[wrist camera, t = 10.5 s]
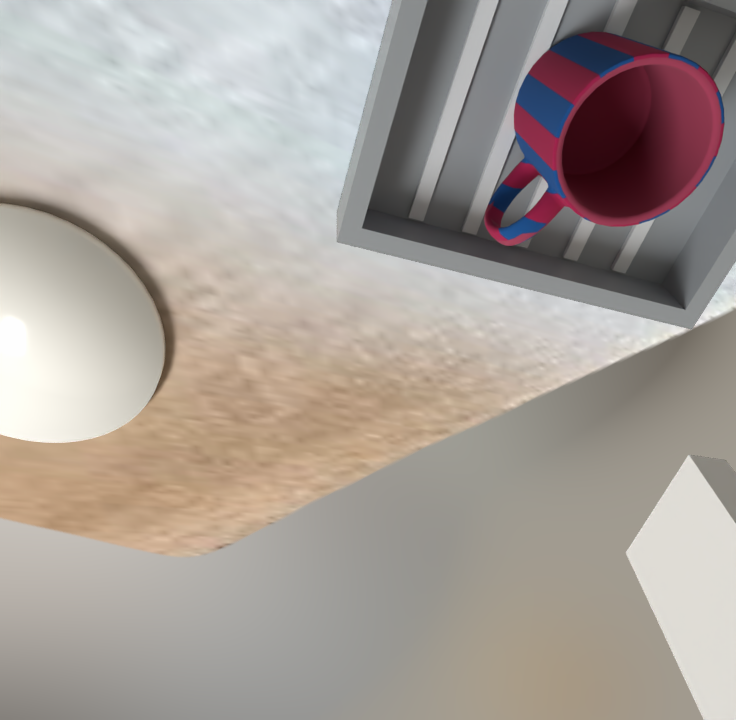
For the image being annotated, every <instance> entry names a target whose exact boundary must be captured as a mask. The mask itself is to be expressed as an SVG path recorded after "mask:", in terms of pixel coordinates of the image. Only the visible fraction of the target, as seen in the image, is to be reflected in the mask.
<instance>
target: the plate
mask: <svg viewBox="0 0 736 720" xmlns="http://www.w3.org/2000/svg"><path fill="white" fill-rule="evenodd" d="M165 350H166V344H165V335H164V329H163V325H162V321H161V318H160V314H159V312H158V310H157V307H156V305H155V303H154V300H153V299H152V297H151V295H150V294H149V292H148V290H147V288H146V287H145V285H144V284H143V282H142V281H141V280H140V278H139V277H138V276H137V275H136V273H135V272H134V271H133V269H132V268H131V267H130V266H129V265H128V264H127V263H126V262H125V261H124V260H123V259H122V258H121V257H120V256H119V255H118V254H117V253H115V252H114V251H113V250H112V249H111V248H109V247H108V246H107V245H106V244H105V243H103V242H102V241H100V240H99V239H97V238H96V237H94V236H93V235H92V234H90V233H89V232H87V231H85V230H83V229H82V228H80V227H78V226H76V225H74V224H72V223H70V222H69V221H66V220H64V219H61V218H59V217H56V216H54V215H52V214H49V213H46V212H43V211H39V210H36V209H32V208H29V207H24V206H19V205H13V204H7V203H0V434H2V435H5V436H8V437H13V438H17V439H22V440H28V441H36V442H48V443H63V442H76V441H82V440H87V439H92V438H95V437H98V436H102V435H105V434H107V433H109V432H112V431H114V430H116V429H118V428H120V427H121V426H123V425H124V424H126V423H128V422H129V421H130V420H132V419H133V418H134V417H135V416H136V415H138V414H139V413H140V411H141V410H142V409H143V408H144V407H145V406H146V405H147V403H148V402H149V400H150V398H151V397H152V395H153V394H154V392H155V389H156V387H157V384H158V382H159V379H160V377H161V374H162V372H163V367H164V362H165Z"/></svg>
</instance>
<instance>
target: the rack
mask: <svg viewBox="0 0 736 720" xmlns="http://www.w3.org/2000/svg"><path fill="white" fill-rule="evenodd" d="M587 32H607V33H612V34H616V35H619V36H622V37H625V38H629V39H632V40H635V41H638V42H641V43H644V44H647V45H650V46H653V47H656V48H659V49H662V50H665V51H668V52H671V53H674V54H678V55H681V56H683V57H685V58H688V59H690V60H692V61H694V62H696V63H697V64H698V65H700V66H701V67H702V68H703V69H705V70H706V71H707V72H708V74H709V75H710V76H711V77H712V79H713V80H714V81H715V83H716V85H717V87H718V89H719V92H720V94H721V97H722V102H723V106H724V122H725V125H724V131H723V138H722V142H721V145H720V148H719V151H718V154H717V156H716V158H715V160H714V163H713V165H712V167H711V169H710V170H709V172H708V173H707V175H706V176H705V178H704V179H703V181H702V182H701V183H700V184H699V186H698V187H697V188H696V189H695V190H694V191H693V192H692V193H691V194H690V195H689V196H688V197H687V198H686V199H685V200H684V201H682V202H681V203H680V204H679V205H678V206H676V207H675V208H673V209H672V210H670V211H669V212H667V213H665V214H663V215H661V216H659V217H657V218H655V219H653V220H650V221H647V222H644V223H641V224H638V225H632V226H625V227H610V226H604V225H599V224H596V223H593V222H590V221H588V220H586V219H584V218H582V217H581V216H579V215H578V214H576V213H575V212H574V211H573V210H572V209H571V208H570V207H565V206H564V207H563V208H562V210H561V211H560V212H559V213H558V214H557V215H556V216H555V217H554V218H553V219H552V221H551V222H550V223H549V224H548V225H547V226H545V227H544V228H543V229H542V230H541V231H540V232H539V233H537V234H536V235H534V236H533V237H532V238H530V239H528V240H526V241H524V242H523V243H520V244H516V245H512V246H505V245H503V244H501V243H499V242H498V241H497V240H495V239H494V238H493V237H492V236H491V235H490V233H489V232H488V230H487V228H486V226H485V222H484V216H485V211H486V208H487V206H488V204H489V201H490V199H491V198H492V196H493V194H494V193H495V191H496V190H497V189H498V187H499V186H500V184H501V183H502V182H503V181H504V180H505V178H506V177H507V176H508V175H509V174H510V173H511V171H512V170H513V169H514V168H515V167H516V166H517V164H519V163H520V162H521V161H522V160H523V159H524V154H523V152H522V151H521V149H520V147H519V144H518V142H517V139H516V134H515V130H514V109H515V102H516V99H517V96H518V92H519V89H520V87H521V85H522V83H523V81H524V79H525V77H526V75H527V74H528V72H529V71H530V69H531V68H532V66H533V65H534V64H535V63H536V62H537V61H538V59H539V58H540V57H541V56H542V55H543V54H544V53H546V52H547V51H548V50H549V49H551V48H552V47H553V46H554V45H556V44H558V43H560V42H561V41H563V40H565V39H567V38H570V37H572V36H575V35H578V34H582V33H587ZM547 188H548V184H547V182H546V181H545V180H544V179H543V177H541V176H540V175H538V176H537V177H536V178H535V179H533V180H532V181H531V182H530V183H529V184H528V185H527V186H526V187H525V188H524V189H523V190H522V191H521V192H520V193H519V194H518V195H517V196H516V197H515V198H514V200H513V201H512V202H511V204H510V205H509V206H508V208H507V210H506V211H505V213H504V215H503V217H502V220H501V227H508V226H510V225H511V224H513V223H515V222H517V221H518V220H519V219H521V218H522V217H523V216H525V215H526V214H527V213H528V212H529V211H530V210H531V209H532V208H533V207H534V206H535V205H536V203H537V202H538V201H539V200H540V199H541V197H542V196H543V194H544V193H545V191H546V190H547ZM337 242H338V243H342V244H346V245H350V246H354V247H359V248H363V249H367V250H371V251H375V252H379V253H383V254H387V255H391V256H395V257H399V258H403V259H407V260H411V261H415V262H420V263H424V264H428V265H432V266H436V267H440V268H444V269H448V270H452V271H456V272H460V273H464V274H468V275H472V276H476V277H481V278H485V279H489V280H493V281H497V282H501V283H505V284H509V285H513V286H517V287H521V288H525V289H529V290H533V291H537V292H542V293H546V294H550V295H554V296H558V297H562V298H566V299H570V300H574V301H578V302H582V303H586V304H590V305H594V306H598V307H603V308H607V309H611V310H615V311H619V312H623V313H627V314H631V315H635V316H639V317H643V318H647V319H651V320H655V321H659V322H664V323H668V324H672V325H676V326H680V327H684V328H688V329H692V328H693V327H694V325H695V324H696V322H697V321H698V319H699V317H700V316H701V314H702V313H703V311H704V310H705V308H706V307H707V305H708V303H709V302H710V300H711V299H712V297H713V296H714V294H715V293H716V291H717V289H718V288H719V286H720V285H721V283H722V282H723V280H724V279H725V277H726V275H727V274H728V272H729V271H730V269H731V268H732V266H733V265H734V263H735V261H736V0H392V4H391V8H390V11H389V15H388V19H387V23H386V27H385V30H384V34H383V38H382V42H381V46H380V50H379V53H378V57H377V61H376V65H375V69H374V72H373V76H372V80H371V84H370V88H369V91H368V95H367V99H366V103H365V107H364V111H363V114H362V118H361V122H360V126H359V130H358V133H357V137H356V141H355V145H354V149H353V153H352V156H351V160H350V164H349V168H348V172H347V175H346V179H345V183H344V187H343V191H342V194H341V198H340V202H339V206H338V210H337Z"/></svg>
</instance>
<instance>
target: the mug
mask: <svg viewBox="0 0 736 720" xmlns="http://www.w3.org/2000/svg"><path fill="white" fill-rule="evenodd" d="M724 125H725V122H724V106H723V102H722V97H721V94H720V92H719V89H718V87H717V85H716V83H715V81H714V80H713V79H712V77H711V76H710V75H709V74H708V72H707V71H706V70H705V69H703V68H702V67H701V66H700V65H698V64H697V63H696V62H694V61H692V60H690V59H688V58H685V57H683V56H681V55H678V54H674V53H671V52H668V51H665V50H662V49H659V48H656V47H653V46H650V45H647V44H644V43H641V42H638V41H635V40H632V39H629V38H625V37H622V36H619V35H616V34H612V33H607V32H587V33H582V34H578V35H575V36H572V37H570V38H567V39H565V40H563V41H561V42H560V43H558V44H556V45H554V46H553V47H552V48H551V49H549V50H548V51H547V52H546V53H544V54H543V55H542V56H541V57H540V58H539V59H538V61H537V62H536V63H535V64H534V65H533V66H532V68H531V69H530V71H529V72H528V74H527V75H526V77H525V79H524V81H523V83H522V85H521V87H520V89H519V92H518V96H517V99H516V102H515V109H514V130H515V134H516V139H517V142H518V144H519V147H520V149H521V151H522V152H523V154H524V159H523V160H522V161H521V162H520V163H519V164H517V166H516V167H515V168H514V169H513V170H512V171H511V173H510V174H509V175H508V176H507V177H506V178H505V180H504V181H503V182H502V183H501V184H500V186H499V187H498V189H497V190H496V191H495V193H494V194H493V196H492V198H491V199H490V201H489V204H488V206H487V208H486V211H485V216H484V222H485V226H486V228H487V230H488V232H489V233H490V235H491V236H492V237H493V238H494V239H495V240H497V241H498V242H499V243H501V244H503V245H505V246H512V245H516V244H520V243H523V242H524V241H526V240H528V239H530V238H532V237H533V236H534V235H536V234H537V233H539V232H540V231H541V230H542V229H543V228H544V227H545V226H547V225H548V224H549V223H550V222H551V221H552V219H553V218H554V217H555V216H556V215H557V214H558V213H559V212H560V211H561V210H562V208H563V207H564V206H565V207H570V208H571V209H572V210H573V211H574V212H575V213H576V214H578V215H579V216H581V217H582V218H584V219H586V220H588V221H590V222H593V223H596V224H599V225H604V226H610V227H625V226H632V225H638V224H641V223H644V222H647V221H650V220H653V219H655V218H657V217H659V216H661V215H663V214H665V213H667V212H669V211H670V210H672V209H673V208H675V207H676V206H678V205H679V204H680V203H681V202H682V201H684V200H685V199H686V198H687V197H688V196H689V195H690V194H691V193H692V192H693V191H694V190H695V189H696V188H697V187H698V186H699V184H700V183H701V182H702V181H703V179H704V178H705V176H706V175H707V173H708V172H709V170H710V169H711V167H712V165H713V163H714V160H715V158H716V156H717V154H718V151H719V148H720V145H721V142H722V138H723V131H724ZM538 175H540V176H541V177H543V179H544V180H545V181H546V182H547V184H548V188H547V190H546V191H545V193H544V194H543V196H542V197H541V199H540V200H539V201H538V202H537V203H536V205H535V206H534V207H533V208H532V209H531V210H530V211H529V212H528V213H527V214H526V215H525V216H523V217H522V218H521V219H519V220H518V221H517V222H515V223H513V224H511V225H510V226H508V227H501V220H502V217H503V215H504V213H505V211H506V210H507V208H508V206H509V205H510V204H511V202H512V201H513V200H514V198H515V197H516V196H517V195H518V194H519V193H520V192H521V191H522V190H523V189H524V188H525V187H526V186H527V185H528V184H529V183H530V182H531V181H532V180H533V179H535V178H536V177H537V176H538Z"/></svg>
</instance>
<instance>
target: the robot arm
mask: <svg viewBox="0 0 736 720" xmlns="http://www.w3.org/2000/svg"><path fill="white" fill-rule="evenodd" d="M626 554H627V557H628V559H629V561H630V563H631V565H632V567H633V569H634V571H635V573H636V576H637V578H638V580H639V582H640V584H641V586H642V589H643V591H644V593H645V595H646V597H647V599H648V601H649V603H650V605H651V608H652V610H653V612H654V614H655V616H656V619H657V621H658V623H659V625H660V627H661V629H662V631H663V633H664V636H665V638H666V640H667V642H668V644H669V646H670V648H671V650H672V653H673V655H674V657H675V659H676V661H677V663H678V665H679V668H680V670H681V672H682V674H683V676H684V678H685V681H686V682H687V685H688V687H689V689H690V691H691V693H692V695H693V698H694V700H695V702H696V704H697V706H698V708H699V710H700V713H701V715H702V717H703V719H704V720H736V473H735V471H734V470H733V469H732V467H731V466H730V465H729V464H728V462H727V461H726V460H722V459H716V458H709V457H702V456H695V455H688V457H687V458H686V460H685V461H684V463H683V465H682V466H681V468H680V469H679V471H678V473H677V474H676V475H675V477H674V478H673V480H672V482H671V483H670V485H669V486H668V488H667V490H666V491H665V493H664V494H663V496H662V497H661V499H660V500H659V502H658V503H657V505H656V507H655V508H654V510H653V511H652V513H651V514H650V516H649V517H648V519H647V521H646V522H645V524H644V525H643V527H642V529H641V530H640V531H639V533H638V535H637V536H636V538H635V539H634V541H633V542H632V544H631V545H630V547H629V549H628V550H627V552H626Z"/></svg>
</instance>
